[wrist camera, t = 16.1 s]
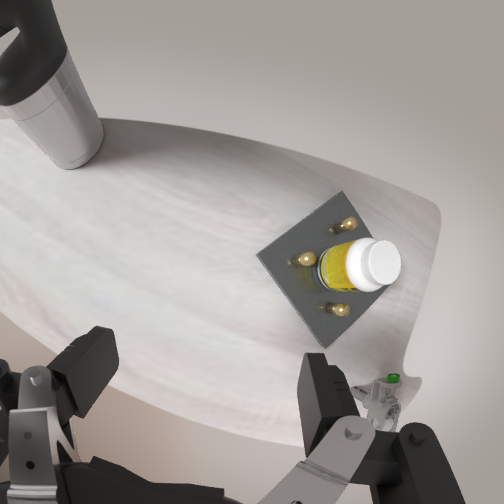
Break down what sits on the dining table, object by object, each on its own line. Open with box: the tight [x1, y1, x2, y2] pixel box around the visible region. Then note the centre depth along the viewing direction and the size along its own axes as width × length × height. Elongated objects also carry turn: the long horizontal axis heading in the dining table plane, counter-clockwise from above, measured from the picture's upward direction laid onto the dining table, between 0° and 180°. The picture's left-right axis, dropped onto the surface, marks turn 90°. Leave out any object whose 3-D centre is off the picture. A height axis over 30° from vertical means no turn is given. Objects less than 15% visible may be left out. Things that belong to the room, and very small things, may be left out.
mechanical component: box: [350, 374, 402, 432], centre depth 31 cm, size 3×10×10 cm, turn 178°
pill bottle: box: [318, 238, 401, 292], centre depth 31 cm, size 6×6×11 cm
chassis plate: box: [256, 191, 390, 349], centre depth 35 cm, size 16×16×4 cm
